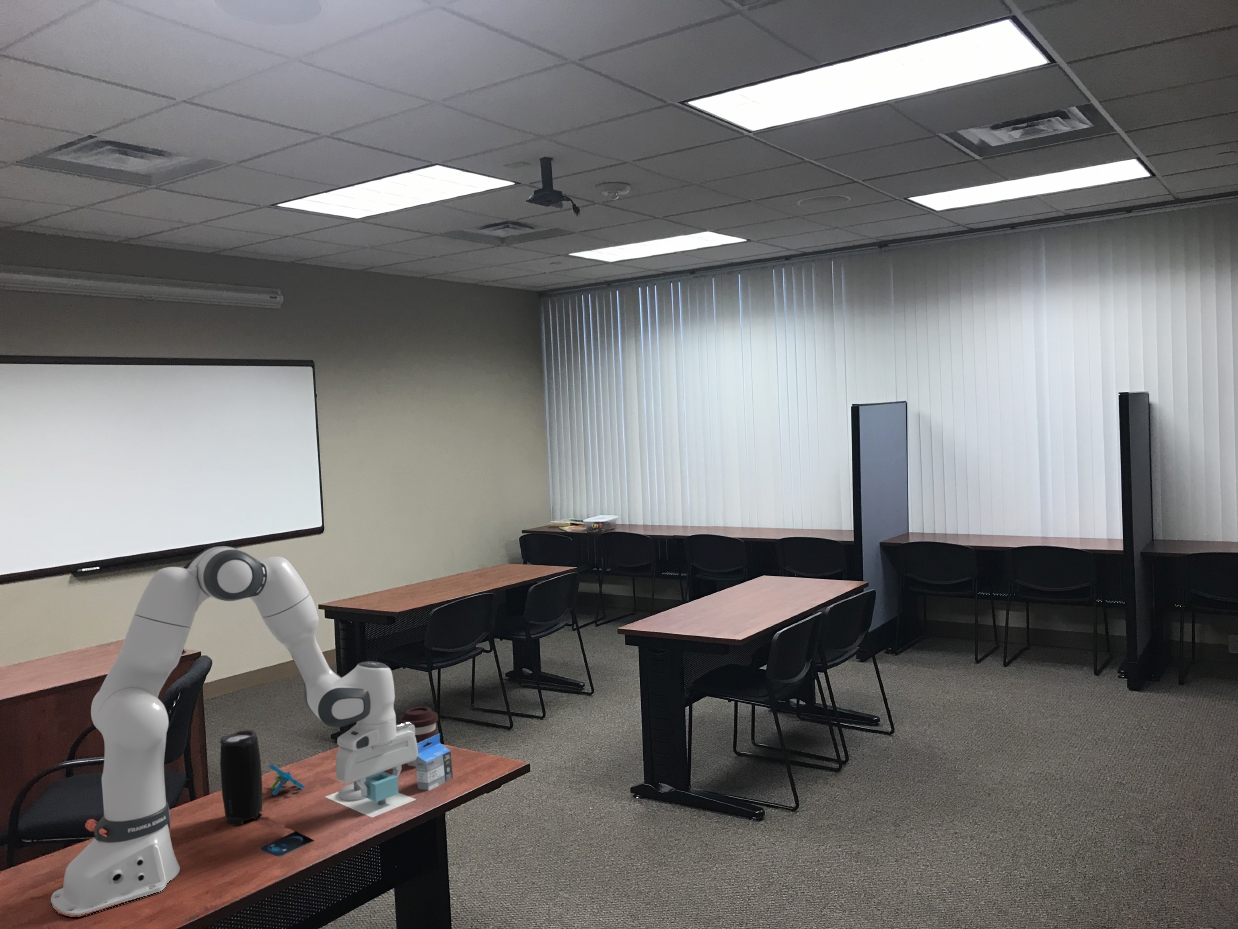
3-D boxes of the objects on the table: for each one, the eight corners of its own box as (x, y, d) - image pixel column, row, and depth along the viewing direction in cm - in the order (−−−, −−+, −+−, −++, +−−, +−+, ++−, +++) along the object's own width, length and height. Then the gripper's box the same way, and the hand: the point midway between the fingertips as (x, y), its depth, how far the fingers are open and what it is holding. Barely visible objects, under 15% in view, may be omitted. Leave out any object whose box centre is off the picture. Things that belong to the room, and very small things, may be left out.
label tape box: (429, 797, 219) (426, 746, 218) (416, 794, 221) (413, 744, 220) (454, 784, 226) (451, 735, 226) (441, 781, 228) (438, 733, 228)
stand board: (372, 824, 205) (370, 795, 205) (325, 803, 218) (323, 776, 218) (416, 805, 214) (414, 778, 214) (368, 786, 227) (366, 761, 227)
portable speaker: (250, 807, 218) (245, 726, 217) (272, 816, 212) (267, 733, 211) (215, 820, 211) (210, 737, 210) (237, 830, 205) (232, 744, 205)
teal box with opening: (376, 802, 208) (375, 784, 208) (361, 795, 212) (360, 778, 212) (398, 793, 213) (397, 776, 212) (383, 787, 217) (382, 771, 216)
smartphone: (257, 848, 195) (316, 821, 208) (257, 851, 195) (316, 823, 208) (279, 856, 191) (338, 828, 203) (279, 859, 191) (338, 830, 203)
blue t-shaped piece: (310, 787, 225) (277, 765, 221) (294, 809, 222) (261, 787, 219) (299, 780, 234) (268, 758, 231) (284, 800, 231) (252, 779, 228)
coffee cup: (429, 757, 246) (426, 702, 246) (447, 766, 239) (444, 709, 238) (395, 767, 240) (392, 710, 239) (412, 777, 232) (409, 719, 232)
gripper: (406, 717, 222) (409, 773, 222) (330, 740, 206) (333, 800, 207) (422, 722, 218) (424, 779, 218) (345, 746, 202) (348, 807, 203)
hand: (379, 790), depth 212 cm, fingers closed on teal box with opening, 6 cm apart
